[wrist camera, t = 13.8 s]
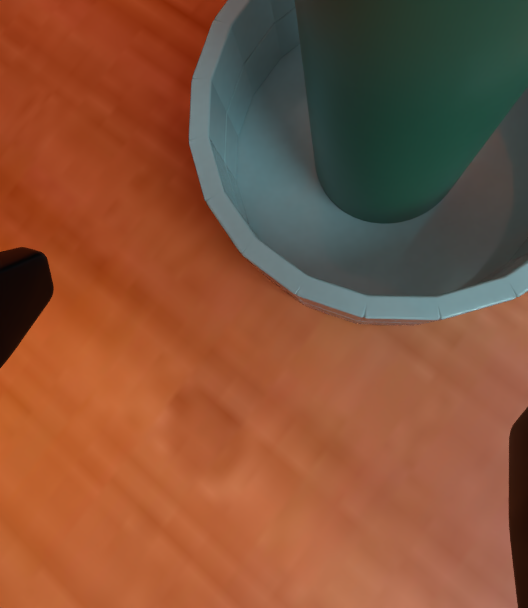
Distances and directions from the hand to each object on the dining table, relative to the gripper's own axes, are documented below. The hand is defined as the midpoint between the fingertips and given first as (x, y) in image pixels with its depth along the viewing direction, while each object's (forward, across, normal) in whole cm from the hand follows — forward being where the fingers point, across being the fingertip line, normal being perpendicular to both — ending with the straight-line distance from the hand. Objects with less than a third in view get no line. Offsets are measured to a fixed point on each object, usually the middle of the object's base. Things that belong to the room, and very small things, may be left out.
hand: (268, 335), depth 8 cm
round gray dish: (+12, -2, 0) cm, 12 cm away
